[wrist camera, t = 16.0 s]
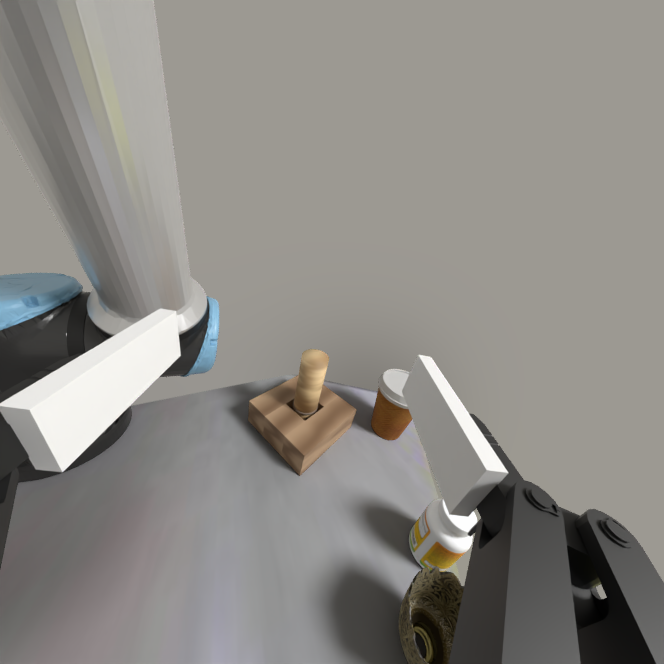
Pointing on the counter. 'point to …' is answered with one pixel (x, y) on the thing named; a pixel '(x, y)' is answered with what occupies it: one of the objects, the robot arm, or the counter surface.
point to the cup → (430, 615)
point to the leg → (310, 382)
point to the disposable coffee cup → (391, 405)
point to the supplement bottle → (440, 536)
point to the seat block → (299, 423)
